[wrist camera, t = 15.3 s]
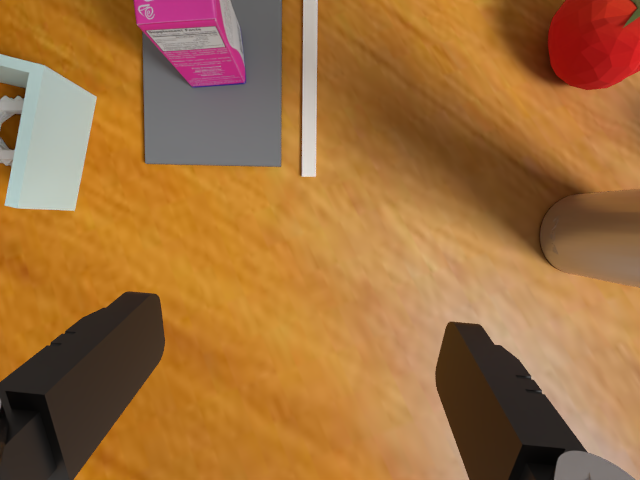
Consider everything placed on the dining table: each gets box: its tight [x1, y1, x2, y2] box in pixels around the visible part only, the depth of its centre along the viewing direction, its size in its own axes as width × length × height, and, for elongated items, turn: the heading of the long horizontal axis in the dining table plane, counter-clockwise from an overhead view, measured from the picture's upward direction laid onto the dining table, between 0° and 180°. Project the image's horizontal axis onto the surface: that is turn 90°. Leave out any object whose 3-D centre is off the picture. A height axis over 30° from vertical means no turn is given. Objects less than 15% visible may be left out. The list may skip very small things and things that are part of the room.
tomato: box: [548, 0, 640, 90], centre depth 32 cm, size 9×10×8 cm
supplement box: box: [134, 0, 246, 88], centre depth 28 cm, size 6×6×12 cm
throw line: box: [302, 0, 318, 177], centre depth 35 cm, size 2×26×1 cm, turn 179°
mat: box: [143, 0, 282, 167], centre depth 34 cm, size 14×24×1 cm, turn 179°
